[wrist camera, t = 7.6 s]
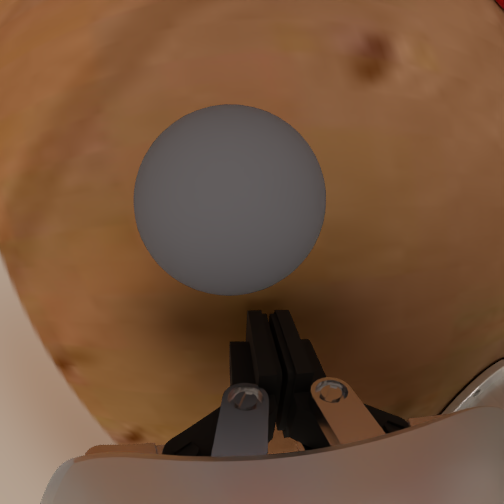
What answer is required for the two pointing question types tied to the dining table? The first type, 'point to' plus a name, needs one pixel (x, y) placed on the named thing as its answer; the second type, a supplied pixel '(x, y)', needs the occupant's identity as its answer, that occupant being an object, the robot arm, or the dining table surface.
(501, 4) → the beverage can
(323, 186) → the gray ball
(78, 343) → the dining table surface
